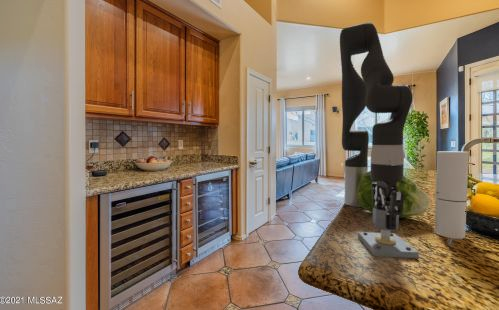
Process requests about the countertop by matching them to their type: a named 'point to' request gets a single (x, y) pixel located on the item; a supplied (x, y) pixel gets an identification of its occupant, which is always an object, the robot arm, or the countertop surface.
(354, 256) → the countertop surface
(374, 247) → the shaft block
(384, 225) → the collar
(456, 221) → the cylindrical container
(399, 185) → the lettuce
